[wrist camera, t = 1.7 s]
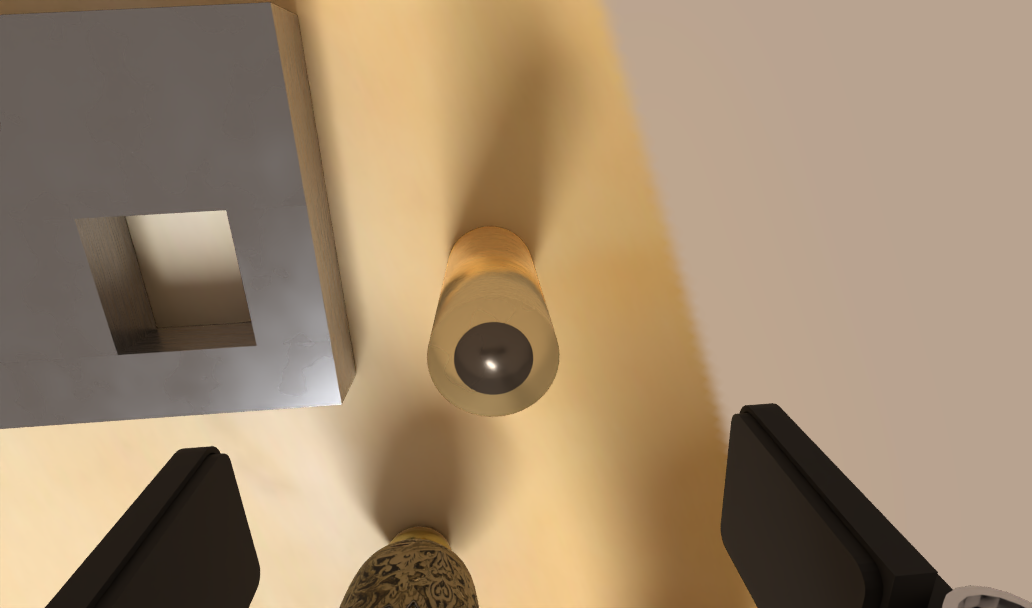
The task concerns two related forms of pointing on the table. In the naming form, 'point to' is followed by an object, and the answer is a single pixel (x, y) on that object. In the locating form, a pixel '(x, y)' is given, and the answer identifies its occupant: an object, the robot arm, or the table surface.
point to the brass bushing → (492, 327)
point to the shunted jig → (159, 190)
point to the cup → (413, 575)
